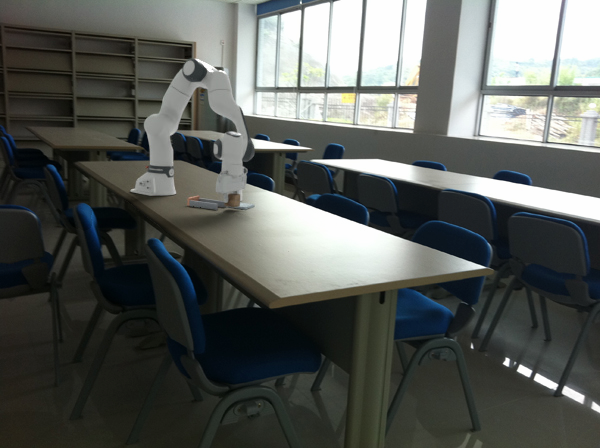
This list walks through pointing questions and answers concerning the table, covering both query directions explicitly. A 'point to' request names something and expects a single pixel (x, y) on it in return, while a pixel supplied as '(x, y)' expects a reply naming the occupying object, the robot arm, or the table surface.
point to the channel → (205, 203)
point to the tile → (244, 206)
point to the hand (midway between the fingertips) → (230, 201)
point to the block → (233, 200)
